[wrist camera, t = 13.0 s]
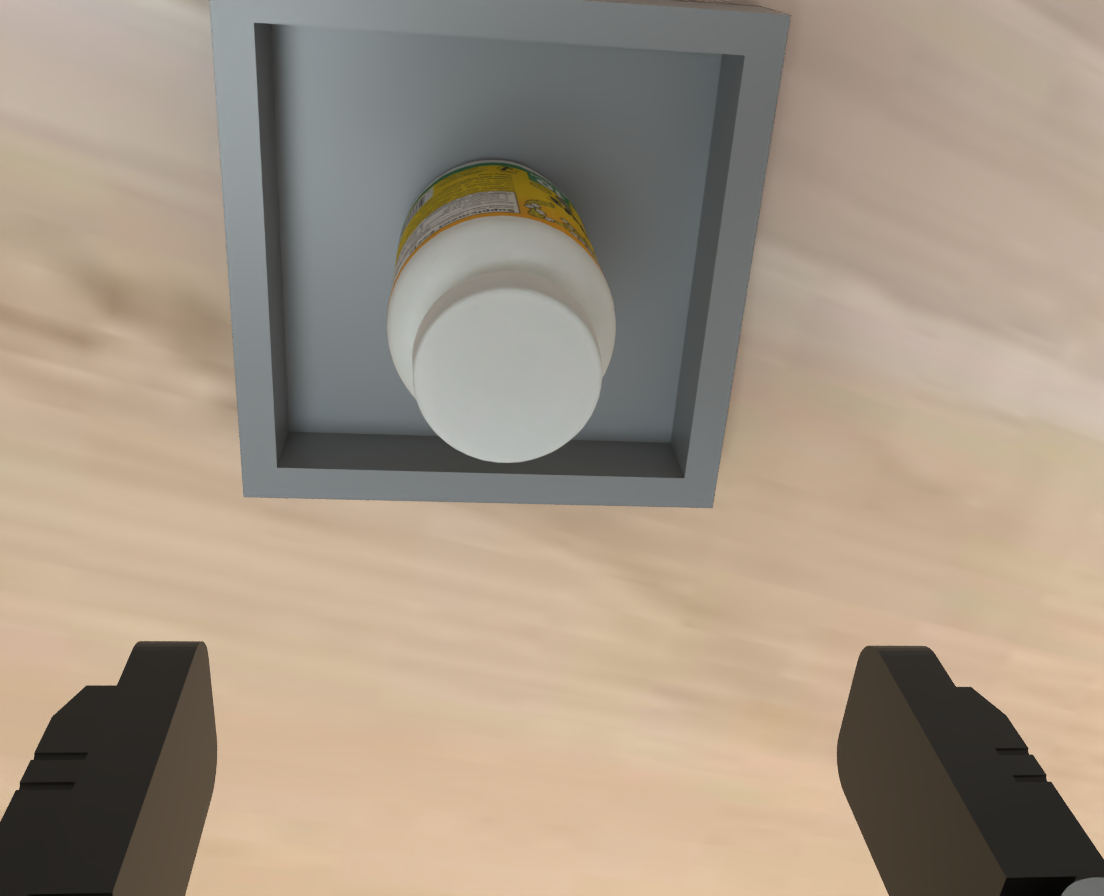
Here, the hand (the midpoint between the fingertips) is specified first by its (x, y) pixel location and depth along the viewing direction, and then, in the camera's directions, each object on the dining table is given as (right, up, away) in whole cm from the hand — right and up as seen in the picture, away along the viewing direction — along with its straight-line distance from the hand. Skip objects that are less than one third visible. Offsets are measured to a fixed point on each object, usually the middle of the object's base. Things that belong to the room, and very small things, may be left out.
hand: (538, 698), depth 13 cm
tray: (-2, +9, +18) cm, 20 cm away
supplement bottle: (-2, +9, +18) cm, 20 cm away
